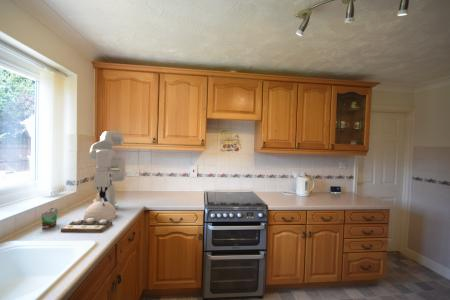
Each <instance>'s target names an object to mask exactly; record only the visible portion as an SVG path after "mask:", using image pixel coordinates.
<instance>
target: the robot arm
mask: <svg viewBox="0 0 450 300" xmlns="http://www.w3.org/2000/svg"><path fill="white" fill-rule="evenodd" d="M124 140H125V139H124V135H123V132H121V131H118V130H117V131H114V130H113V131H112V130H107V131H104V132H102V134H101V135H100V137H99V141H97V142H95V143H93V144H92V145H91V147H90V150H89V159H90V160H92V161H95V171H94V175H93V188H94V189H96V190H97V191H98V193H100V198H99V199H101V201H104V199H103V198H104V197H105V196H106V198H107V200H108V201H106V202H109V203H110V204H112V205H113V206H114V208H115V210H117V209H118V205H116V204H117V203H118V202H117V200H116V186H115V184H114V182H123V181H125V180H126V179H125V178H126V161H125V158H124V157H122V156H116V150H115V148H114V147H113V146H115V147H116V146H120V147H121V146H123V145H124Z"/></svg>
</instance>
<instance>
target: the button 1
mask: <svg viewBox="0 0 450 300" xmlns="http://www.w3.org/2000/svg"><path fill="white" fill-rule="evenodd" d="M81 220H82V219H81V218H79V219H74V220H73V221H74V223H80V222H81Z"/></svg>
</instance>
